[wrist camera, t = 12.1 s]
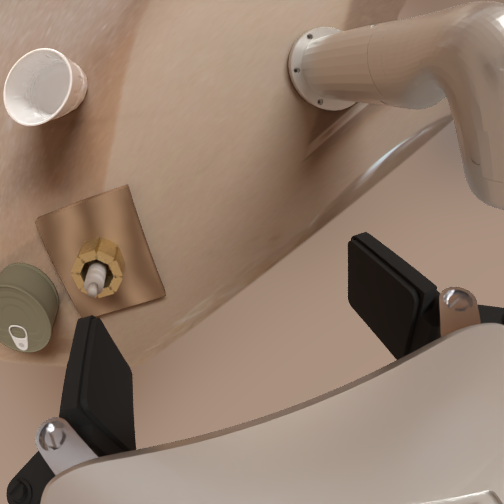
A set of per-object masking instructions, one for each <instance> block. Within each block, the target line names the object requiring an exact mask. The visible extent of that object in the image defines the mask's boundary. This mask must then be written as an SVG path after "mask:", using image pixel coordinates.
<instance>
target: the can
mask: <svg viewBox="0 0 504 504" xmlns="http://www.w3.org/2000/svg"><path fill="white" fill-rule="evenodd" d="M58 307H59V297H58V293H57V290H56V288H55V286H54V284H53V282H52V281H51V280H50V278H49V277H48V276H47V275H46V274H45V273H44V272H42V271H41V270H40V269H38V268H36V267H34V266H32V265H29V264H26V263H14V264H10V265H8V266H7V267H5V268H4V269H3V270H2V271H1V273H0V342H1V343H2V344H4V345H5V346H7V347H9V348H11V349H13V350H16V351H20V352H26V353H31V352H36V351H39V350H41V349H43V348H44V347H45V346H46V345H47V344H48V343H49V341H50V338H51V334H52V327H53V324H54V320H55V317H56V314H57V311H58Z"/></svg>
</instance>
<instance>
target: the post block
mask: <svg viewBox="0 0 504 504" xmlns="http://www.w3.org/2000/svg"><path fill="white" fill-rule="evenodd" d="M35 224H36V226H37V228H38V231H39V233H40V235H41V238H42V240H43V242H44V245H45V247H46V249H47V251H48V253H49V255H50V258H51V260H52V262H53V264H54V266H55V268H56V270H57V272H58V274H59V276H60V278H61V280H62V282H63V284H64V286H65V288H66V290H67V292H68V293H69V295H70V297H71V299H72V301H73V303H74V304H75V306H76V308H77V310H78V312H79V313H80V315H81V317H82V318H84V317H87V316H91V315H93V316H94V317H95V316H99V315H102V314H106V313H109V312H113V311H116V310H120V309H123V308H126V307H130V306H133V305H137V304H140V303H144V302H147V301H150V300H154V299H157V298H160V297H164V296H166V295H165V289H164V286H163V284H162V281H161V279H160V276H159V274H158V271H157V268H156V266H155V263H154V260H153V257H152V255H151V252H150V249H149V246H148V244H147V241H146V238H145V235H144V232H143V229H142V226H141V223H140V220H139V217H138V214H137V211H136V208H135V205H134V202H133V199H132V196H131V193H130V190H129V186H128V185H125V186H122V187H119V188H116V189H113V190H110V191H107V192H104V193H101V194H98V195H96V196H93V197H90V198H87V199H84V200H82V201H79V202H76V203H74V204H71V205H68V206H66V207H63V208H61V209H58V210H55V211H53V212H50V213H48V214H45V215H43V216H41V217H38V218H37V219H36V221H35ZM97 237H100V240H101V239H102V237H103V238H105V239H107V240H109V241H112V242H114V243H116V244H117V247H120V250H121V252H122V255H123V257H124V260H125V266H124V273H123V279H122V281H121V283H120V285H119V287H118V289H117V291H116V292H115V291H114V294H111V295H108V296H104V297H101V298H99V297H98V294H100V293H101V292H102V291H103V287H104V282H105V278H106V273H108V272H111V269H110V267H109V265H108V264H106V263H103V262H101V261H99V260H97V259H96V260H92V261H89V262H87V264H88V267H89V269H88V272H87V275H86V279H85V282H84V288H85V290H86V291H87V294H86V293H84V292H81V289H78V287H77V285H76V283H75V281H74V279H73V277H72V275H71V274H72V272H71V271H72V268H73V266H74V263H75V261H76V258H77V256H78V253H79V251H80V249H81V246H82V244H84V242H86V241H88V240H91V239H94V238H97ZM96 295H97V297H96ZM95 297H96V298H95Z"/></svg>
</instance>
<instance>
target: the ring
mask: <svg viewBox="0 0 504 504" xmlns="http://www.w3.org/2000/svg"><path fill="white" fill-rule="evenodd" d="M96 259H97V260H99V261H101V262H103V263H106V264H108V265H109V267H110V269H111V272H108V273H106V278H105V282H104V287H103V291H102V292H101V293H100V294H98V297H99V298H101V297H104V296H108V295H111V294H114V291H115V292H116V291H117V289H118V287H119V285H120V283H121V281H122V279H123V273H124V266H125V260H124V257H123V255H122V252H121V250H120V247H117V244H116V243H114V242H112V241H109V240H107V239H105V238H103V237H102V239H101V240H100V237H97V238H94V239H91V240H88V241H86V242H84V244H82V246H81V249H80V251H79V253H78V256H77V258H76V261H75V263H74V266H73V268H72V271H71V272H72V274H71V275H72V277H73V279H74V281H75V283H76V285H77V287H78V289H81V292H84V293H86V294H87V291H86V290H85V288H84V282H85V279H86V275H87V272H88V269H89V267H88V264H87V262H89V261H92V260H96ZM96 297H97V295H96ZM96 297H95V298H96Z"/></svg>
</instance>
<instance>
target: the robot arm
mask: <svg viewBox="0 0 504 504" xmlns="http://www.w3.org/2000/svg"><path fill="white" fill-rule="evenodd" d="M307 36H308V38H307ZM288 68H289V74H290V78H291V81H292V83H293V85H294V87H295V89H296V90H297V92H298V93H299V94H300V96H301V97H302V98H304V99H305V100H306V101H307V102H308V103H310V104H311V105H313V106H315V107H318V108H320V109H325V110H333V111H336V110H343V109H346V108H348V107H350V106H352V105H353V104H355V103H356V102H361V103H370V104H379V105H386V106H394V107H400V108H407V109H426V108H429V107H432V106H434V105H436V104H437V103H439V102H440V101H442V100H443V99H444V98H445V97H447V100H448V103H449V106H450V110H451V114H452V116H453V119H454V124H455V128H456V133H457V137H458V143H459V148H460V153H461V158H462V163H463V169H464V173H465V177H466V180H467V183H468V185H469V187H470V189H471V191H472V192H473V194H474V195H475V196H476V197H477V198H478V199H479V200H481V201H482V202H484V203H485V204H487V205H489V206H492V207H494V208H498V209H502V210H504V4H502V3H498V2H492V1H478V2H471V3H466V4H462V5H459V6H455V7H452V8H448V9H445V10H441V11H438V12H434V13H430V14H426V15H422V16H417V17H412V18H407V19H401V20H395V21H390V22H384V23H379V24H374V25H369V26H365V27H360V28H356V29H351V30H347V31H342V30H339V29H336V28H333V27H318V28H314V29H311V30H309V31H307V32H305V33H303V34H302V35H301V36H300V37H299V38H298V39H297V40H296V41H295V42H294V44H293V46H292V48H291V51H290V54H289V61H288ZM294 69H295V70H296V72H294ZM318 101H319V103H318ZM436 289H437V287H436V285H434V284H433V283H432V282H431V281H430V280H428V279H427V278H426V277H425V276H423V275H422V274H421V273H420V272H418V271H417V270H416V269H415V268H413V267H412V266H411V265H409V264H408V263H407V262H406V261H404V260H403V259H402V258H400V257H399V256H398V255H396V254H395V253H394V252H393V251H391V250H390V249H389V248H387V247H386V246H385V245H383V244H382V243H381V242H379V241H378V240H377V239H375V238H374V237H373V236H371V235H370V234H369V233H367V232H364V233H361V234H358V235H355V236H353V237H352V238H351V241H349V242H348V300H349V303H350V305H351V306H352V308H353V309H354V310H355V311H356V312H357V313H358V315H359V316H360V317H361V318H362V319H363V320H364V322H365V323H366V324H367V325H368V326H369V327H370V328H371V330H372V331H373V332H374V333H375V334H376V336H377V337H378V338H379V339H380V340H381V342H382V343H383V344H384V345H385V346H386V347H387V349H388V350H389V351H390V352H391V353H392V354H393V356H394V357H395V358H396V359H397V360H396V361H394V362H393V363H390V364H389V365H387V366H385V367H383V368H381V369H379V370H376V371H375V372H372V373H370V374H368V375H366V376H364V377H362V378H360V379H357V380H355V381H354V382H351V383H349V384H346V385H344V386H342V387H340V388H337V389H335V390H333V391H330V392H328V393H325V394H323V395H321V396H318V397H316V398H313V399H311V400H308V401H306V402H303V403H301V404H298V405H295V406H292V407H290V408H287V409H285V410H282V411H279V412H276V413H273V414H270V415H267V416H264V417H261V418H258V419H256V420H252V421H249V422H246V423H242V424H239V425H236V426H233V427H229V428H226V429H223V430H219V431H215V432H212V433H208V434H204V435H201V436H196V437H193V438H188V439H185V440H180V441H175V442H171V443H166V444H162V445H157V446H153V447H148V448H143V449H138V450H136V443H135V430H134V414H133V385H132V372H131V370H130V367H129V365H128V364H127V362H126V361H125V359H124V358H123V356H122V354H121V353H120V351H119V350H118V348H117V346H116V345H115V343H114V341H113V340H112V338H111V336H110V335H109V333H108V331H107V330H106V328H105V326H104V324H103V323H102V321H101V319H100V318H95V317H94V316H93V315H91V316H87V317H84V318H80V319H78V321H77V325H76V329H75V334H74V338H73V343H72V347H71V352H70V357H69V361H68V364H67V369H66V375H65V380H64V386H63V393H62V400H61V406H60V414H59V417H53V418H50V419H48V420H46V421H45V422H43V423H42V425H41V426H40V427H39V429H38V431H37V433H36V438H35V442H36V446H37V449H38V450H39V451H38V452H37V453H36V454H35V455H34V456H33V457H32V458H31V459H30V461H29V462H28V463H27V464H26V465H25V466H24V467H23V468H22V469H21V470H20V471H19V472H18V474H17V475H16V476H15V477H14V478H13V479H12V480H11V482H10V483H9V485H8V488H7V500H8V503H9V504H504V308H500V307H492V306H484V305H478V304H477V300H476V298H475V296H474V295H473V294H472V293H471V292H470V291H468V290H466V289H464V288H460V287H449V288H446V289H444V290H443V291H442V292H441V293H439V292H438V291H437V290H436Z"/></svg>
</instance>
